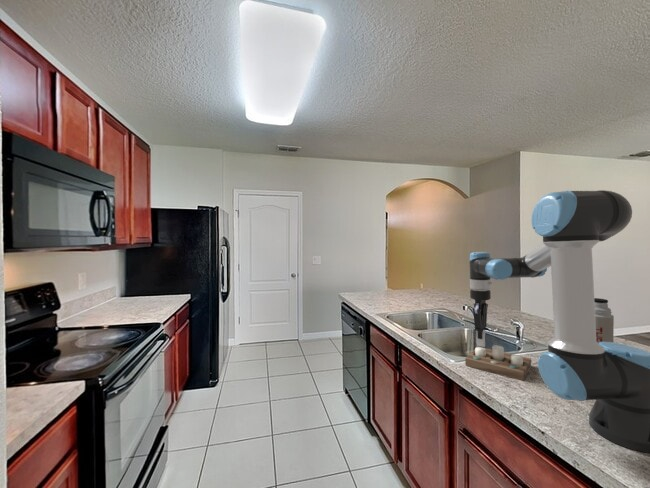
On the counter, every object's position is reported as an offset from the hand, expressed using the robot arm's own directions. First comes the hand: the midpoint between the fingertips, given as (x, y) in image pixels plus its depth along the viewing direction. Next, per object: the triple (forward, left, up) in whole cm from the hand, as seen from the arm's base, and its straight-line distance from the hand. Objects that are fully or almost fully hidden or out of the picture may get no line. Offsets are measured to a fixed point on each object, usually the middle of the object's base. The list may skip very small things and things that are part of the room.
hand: (481, 345), depth 127 cm
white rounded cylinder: (0, 0, -7) cm, 7 cm away
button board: (0, -6, -7) cm, 9 cm away
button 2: (0, -6, -4) cm, 8 cm away
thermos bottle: (+16, -36, -7) cm, 40 cm away
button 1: (0, -13, -7) cm, 14 cm away
